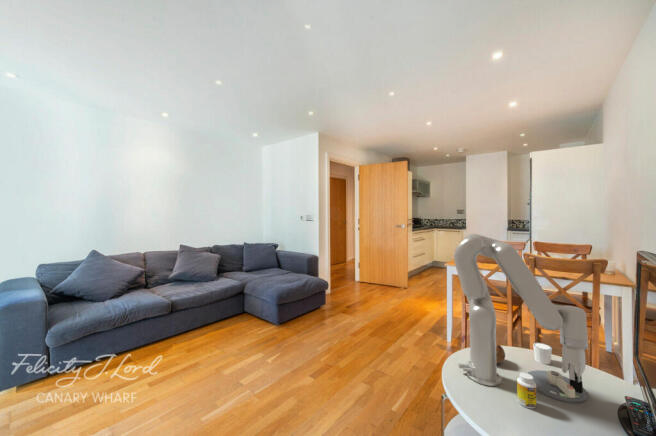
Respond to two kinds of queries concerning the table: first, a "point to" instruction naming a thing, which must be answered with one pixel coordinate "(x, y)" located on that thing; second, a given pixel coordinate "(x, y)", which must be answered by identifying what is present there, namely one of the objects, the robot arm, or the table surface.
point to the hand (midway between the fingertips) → (576, 390)
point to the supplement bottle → (526, 390)
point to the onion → (499, 354)
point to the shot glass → (542, 353)
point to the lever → (560, 383)
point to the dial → (555, 388)
